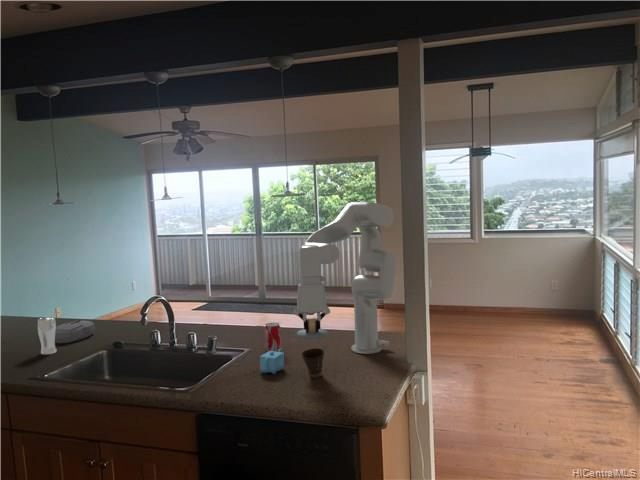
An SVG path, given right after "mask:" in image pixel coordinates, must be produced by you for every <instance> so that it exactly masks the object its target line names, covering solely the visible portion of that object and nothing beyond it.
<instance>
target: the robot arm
mask: <svg viewBox="0 0 640 480" xmlns="http://www.w3.org/2000/svg"><path fill="white" fill-rule="evenodd" d="M394 216H395V215H394V212H393V210H392V208H391V207H390V206H388V205H385V204H381V203H378V202H375V201H352V202H348V203H347V204H346V205H345V206H344V207H343V209H342V210H341V211H340V213H339V214H338V215H336V218H335V219H334V220H333V221H332V222H330V223H329V224H327V225H325V226H323V227H322V228H320V229H318V230H316V231H314V232H313V233H311V234H310V236H309V237H308V238H307V239H306V241H305V242H304V243H303V245H302V246H301V247H300V248H299V278H300V279H299V282H300V283H298V285H297V294H296V295H297V297H296V302H297V303H296V306H295V307H294V310H293V312H292V313H293V315H295V316H297V317H298V318H299V319H301V320H302V321H303V329H304V330H306V333H307V332H308V321H307V319H308V318H307V315H308V314H311V313H312V314H313V313H316V329H317V332H319V329H321V321H322V320H323V318H324V317H325V316H327V315H329V314H330V313H331V309H330V307H329V306H328V304H327V300H326V299H327V298H326V289H325V284H324V283H323V282H325V281H326V278H327V277H326V276H322V265H332V264H334V263H336V262H337V260H338V259H339V257H340V250H339V249H340V248H338V246H336V245H335V244H334V243H338V242H341V241H344V240H347V239H349V238H350V237H351V235H352V234H353V232H354V231H355V230H356V229H357V228H358V230H359V233H360V235H361V237H360V238H361V241H360V249H359V256H358V268H359V270H361V271H363V272H367V273H377V274H378V273H380V275H374V274H373V275H372V274H359V275H356V276H354V277H353V279H352V280H351V283H350V284H351V293H352V297H353V307H354V308H353V309H354V312H353V313H354V314H353V315H354V344H353V345H352V346H351V348H350V349H351V351H352V352H353V353H357V354H359V355H360V354H361V355H372V354H377V353H380V352H382V347H383V346H385V347H389V346H390V341H389V340H385V339H379V337H378V333H379V332H378V328H379V327H378V306H377V303H376V302H375V300H378V301H379V300H380V301H381V300H382V301H385V300H390V298H391V297H392V295H393V294H394V293H393V292H394V287H395V279H396V273H397V271H396V270H397V257H396V254H395V253H394V252H393V251H392V250H388V249H382V243H383V242H382V241H383V240H382V239H383V238H382V235H381V233H380V232H379V230H378V228H385V227H386V228H387V227H389V226H391V225H392V223H393V221H394ZM307 313H308V314H307Z"/></svg>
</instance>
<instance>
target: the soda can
mask: <svg viewBox="0 0 640 480" xmlns="http://www.w3.org/2000/svg"><path fill="white" fill-rule="evenodd" d="M263 331H264V333H263V336H264V337H263V339H264V351H265V353H267V352H269V351H274V352H278V350H279V349H281V350H282V343H283V342H282V328H281V326H280V323H279V322H268V323H266V324H265V326H264V329H263Z"/></svg>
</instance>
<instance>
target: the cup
mask: <svg viewBox="0 0 640 480" xmlns="http://www.w3.org/2000/svg"><path fill="white" fill-rule="evenodd" d="M324 356H325V350H324V349H322V348H308V349H305V350H304V351H302V353H301V357H302V359H303V360H304V364H305V365H306V367H307V370H308V374H309V378H311V379H317V378H320V377H322V375H323V360H324Z"/></svg>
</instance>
